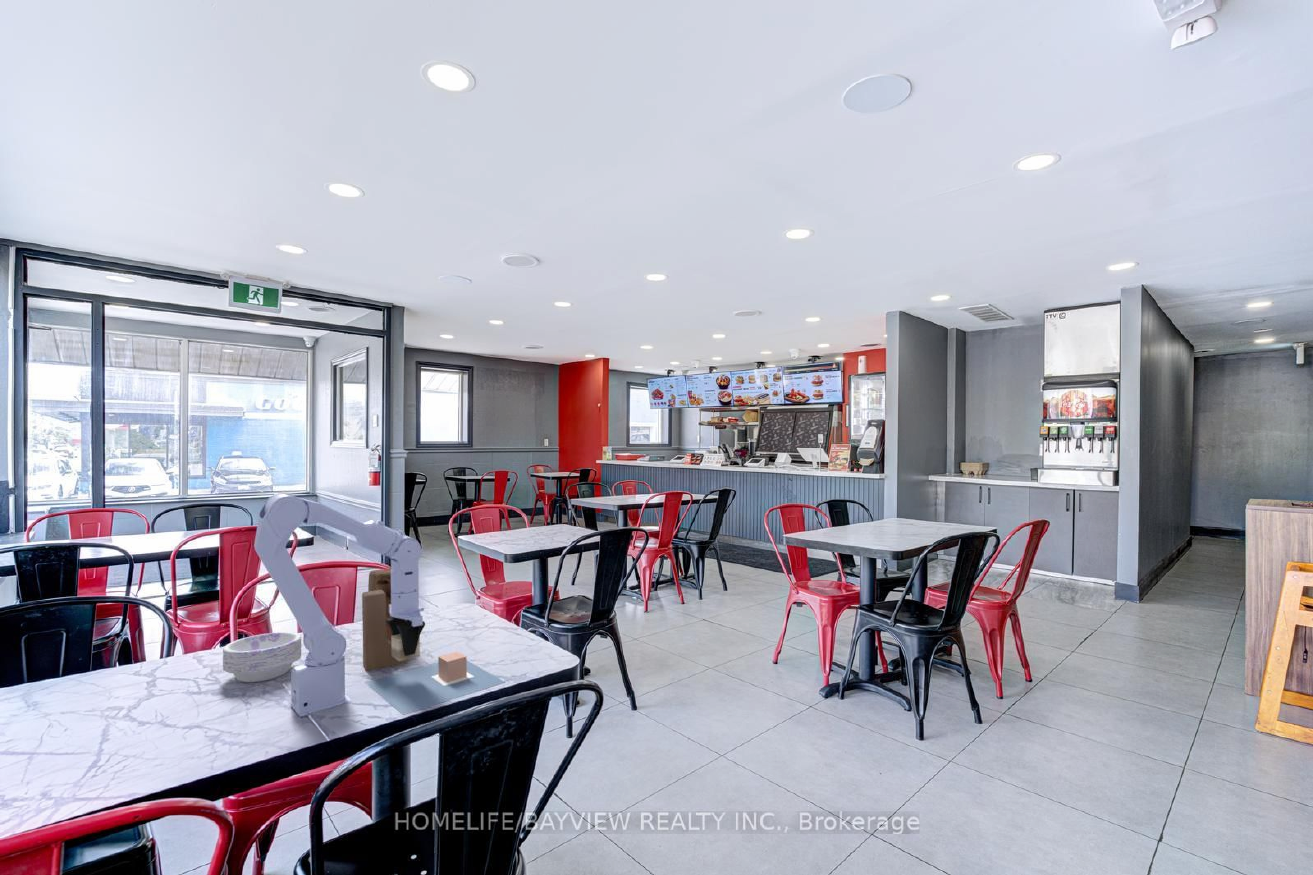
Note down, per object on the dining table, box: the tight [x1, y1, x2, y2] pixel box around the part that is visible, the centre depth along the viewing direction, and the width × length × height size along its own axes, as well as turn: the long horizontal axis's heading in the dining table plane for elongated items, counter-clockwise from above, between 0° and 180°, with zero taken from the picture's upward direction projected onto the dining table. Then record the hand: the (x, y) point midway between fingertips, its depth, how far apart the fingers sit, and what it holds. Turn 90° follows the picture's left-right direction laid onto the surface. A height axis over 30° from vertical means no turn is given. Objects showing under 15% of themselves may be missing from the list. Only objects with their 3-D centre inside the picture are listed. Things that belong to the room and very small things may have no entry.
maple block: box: [391, 634, 421, 661], centre depth 135 cm, size 4×4×4 cm
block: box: [367, 568, 392, 642], centre depth 157 cm, size 11×8×20 cm
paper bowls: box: [222, 631, 302, 683], centre depth 140 cm, size 15×15×8 cm
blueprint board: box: [365, 659, 506, 716], centre depth 133 cm, size 22×22×1 cm
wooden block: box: [361, 590, 408, 672], centre depth 144 cm, size 9×4×18 cm, turn 124°
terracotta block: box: [437, 651, 468, 682], centre depth 136 cm, size 4×4×4 cm
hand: (405, 651), depth 135 cm, fingers closed on maple block, 4 cm apart
